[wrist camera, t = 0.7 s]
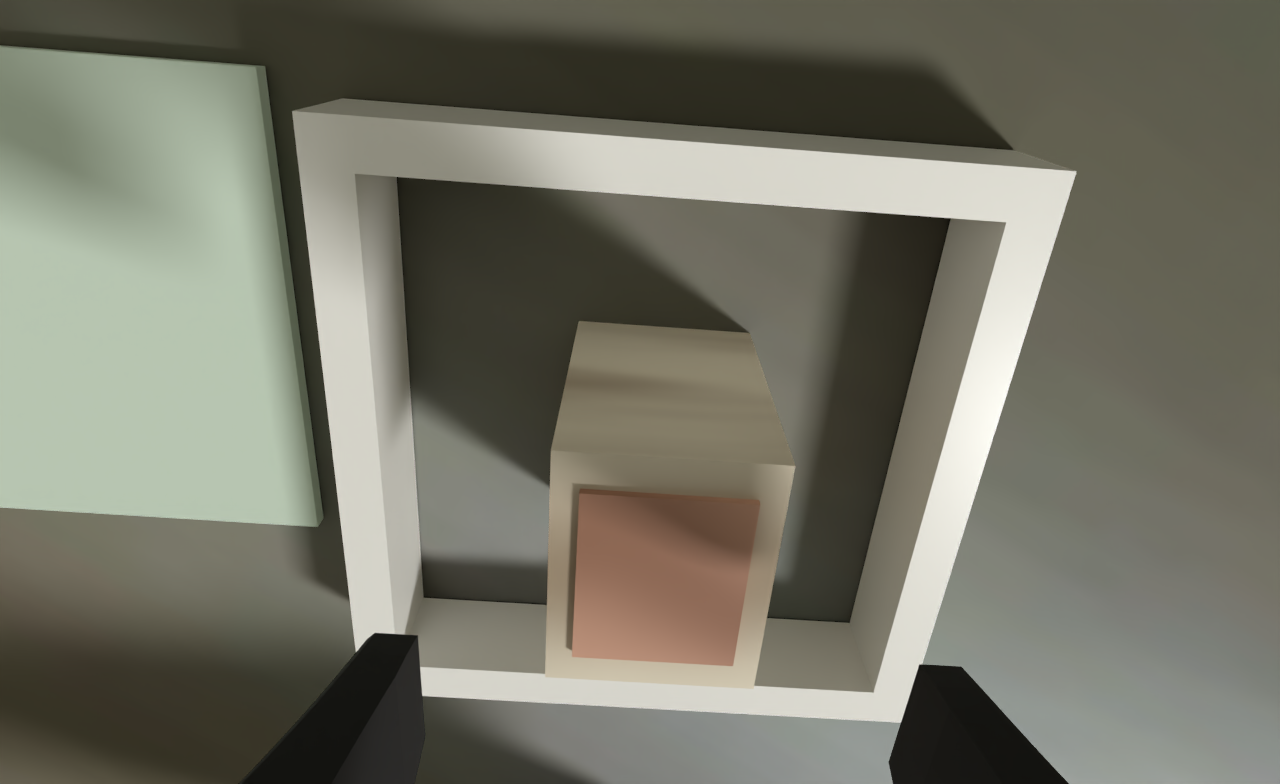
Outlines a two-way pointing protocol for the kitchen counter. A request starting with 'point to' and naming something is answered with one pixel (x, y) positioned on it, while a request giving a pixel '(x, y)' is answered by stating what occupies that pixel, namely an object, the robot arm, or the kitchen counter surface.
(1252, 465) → the kitchen counter surface
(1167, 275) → the kitchen counter surface
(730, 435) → the birch block
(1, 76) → the pad
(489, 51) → the kitchen counter surface
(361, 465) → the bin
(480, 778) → the kitchen counter surface
